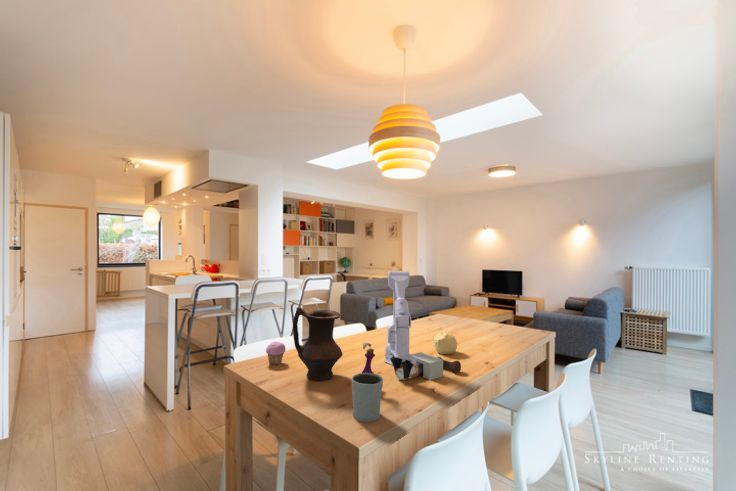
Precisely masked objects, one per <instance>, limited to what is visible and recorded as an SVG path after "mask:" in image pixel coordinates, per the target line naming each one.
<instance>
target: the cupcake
mask: <svg viewBox="0 0 736 491" xmlns="http://www.w3.org/2000/svg"><path fill="white" fill-rule="evenodd" d="M285 352H286V346H285V344H284V343H282V342H280V341H272V342H270V343H269V344H268V345H267V347H266V350H265V353H266V354H267V357H268V358H267V359H268V363H269V365H273V364H274V365H275V364H276V365H279V364H280V363H282V362H283V358H284V353H285Z"/></svg>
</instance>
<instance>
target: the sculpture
mask: <svg viewBox="0 0 736 491" xmlns="http://www.w3.org/2000/svg"><path fill="white" fill-rule="evenodd" d="M433 344H434V345H433V347H434V349H435V351H436V352H437V353H439V354H441V355H450V354H451V355H452V354H454V353H455V352H456V351H457V348H458V342H457V338H456V337H455V336H454V335H452V334H451V333H448V332H446V331H443V332H439V333H437V334H435V335H434V339H433Z"/></svg>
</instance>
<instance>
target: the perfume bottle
mask: <svg viewBox="0 0 736 491" xmlns="http://www.w3.org/2000/svg"><path fill="white" fill-rule="evenodd" d="M367 346H368V347H369V348H368V349H366V348H367ZM362 347H363V350H365V349H366V353H364V357H365V358H366V360H365V365H364V368H363V370H362V371H361V373H373V374H375V373H374V371H373V369H372V367H371V366H372V362H373V361H372V359H374V357H375V356H376V354H375V353H374V351H375V349H373V348H371V347H372V344H371V343H368V342H363V343H362Z"/></svg>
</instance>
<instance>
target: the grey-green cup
mask: <svg viewBox="0 0 736 491" xmlns="http://www.w3.org/2000/svg"><path fill="white" fill-rule="evenodd" d="M373 373H374V372H373ZM373 373H362V372H360V373H356V374H354V375H352V377H351V389H352V390H351V391H352V392H351V393H352V417H353V419H355V420H356V421H358V422H362V423H369V422H370V423H371V422H375V421H377V420H378V419H379V418H380V413H381V412H380V411H381V401H382V394H383V393H382V392H383V385H384V384H383V383H384V378H383V377H382V376H381V375H379V374H377V373H374V374H373Z"/></svg>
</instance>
